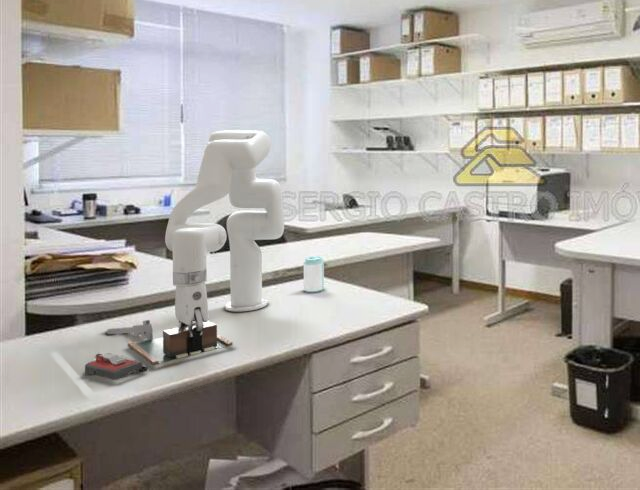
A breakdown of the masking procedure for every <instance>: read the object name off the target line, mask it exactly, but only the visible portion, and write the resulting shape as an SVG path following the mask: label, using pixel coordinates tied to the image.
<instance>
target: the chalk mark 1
mask: <svg viewBox="0 0 640 490" xmlns="http://www.w3.org/2000/svg"><path fill="white" fill-rule="evenodd" d="M186 356H187V357H189V356H188V354H187V353H184V354H179V355H176V358H179V359H182V357H183V358H187V357H186Z"/></svg>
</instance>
